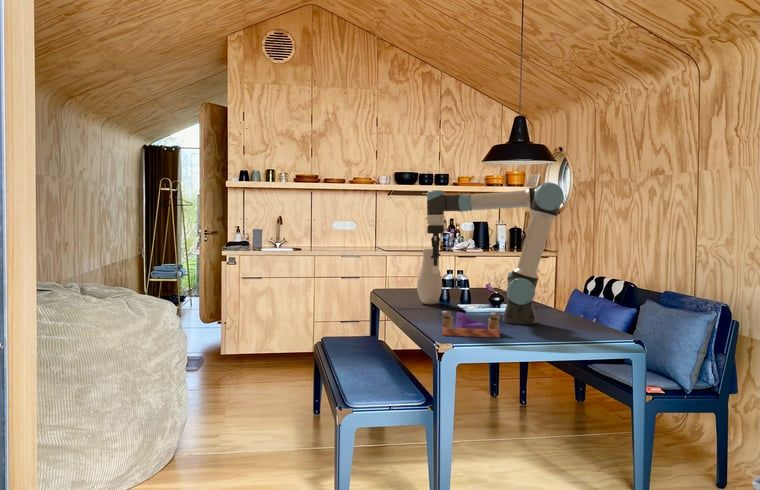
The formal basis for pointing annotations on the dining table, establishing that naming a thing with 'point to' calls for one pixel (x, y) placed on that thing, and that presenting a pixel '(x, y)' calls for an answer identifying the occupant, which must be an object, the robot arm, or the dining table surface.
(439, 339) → the dining table surface
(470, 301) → the dining table surface
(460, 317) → the bracket
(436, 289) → the vase
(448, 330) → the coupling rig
